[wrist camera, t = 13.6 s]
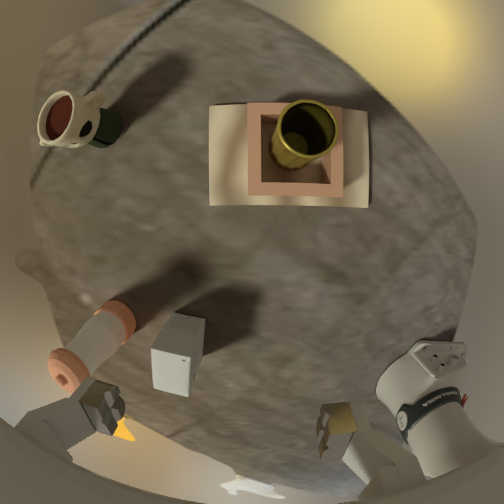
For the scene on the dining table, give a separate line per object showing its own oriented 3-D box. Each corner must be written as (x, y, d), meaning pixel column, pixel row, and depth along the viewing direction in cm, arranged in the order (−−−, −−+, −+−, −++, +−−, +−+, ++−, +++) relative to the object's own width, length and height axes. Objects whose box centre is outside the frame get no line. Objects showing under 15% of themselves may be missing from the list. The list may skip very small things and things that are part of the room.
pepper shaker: (133, 342, 44) (82, 412, 25) (100, 325, 43) (41, 386, 25) (139, 310, 42) (79, 379, 23) (103, 293, 42) (35, 349, 23)
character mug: (90, 166, 36) (35, 165, 24) (77, 132, 35) (24, 123, 22) (141, 127, 35) (93, 109, 22) (126, 93, 33) (80, 67, 21)
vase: (315, 129, 33) (345, 99, 19) (312, 172, 35) (343, 167, 21) (269, 124, 33) (273, 90, 19) (267, 169, 35) (269, 160, 21)
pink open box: (330, 117, 32) (341, 106, 27) (331, 195, 35) (342, 197, 30) (249, 114, 33) (247, 102, 28) (250, 193, 36) (247, 195, 30)
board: (364, 113, 33) (367, 111, 32) (365, 207, 36) (368, 207, 35) (210, 107, 34) (209, 106, 33) (211, 204, 37) (209, 205, 36)
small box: (173, 311, 42) (149, 346, 32) (206, 318, 42) (191, 356, 32) (171, 350, 44) (152, 388, 34) (202, 357, 44) (189, 398, 34)
